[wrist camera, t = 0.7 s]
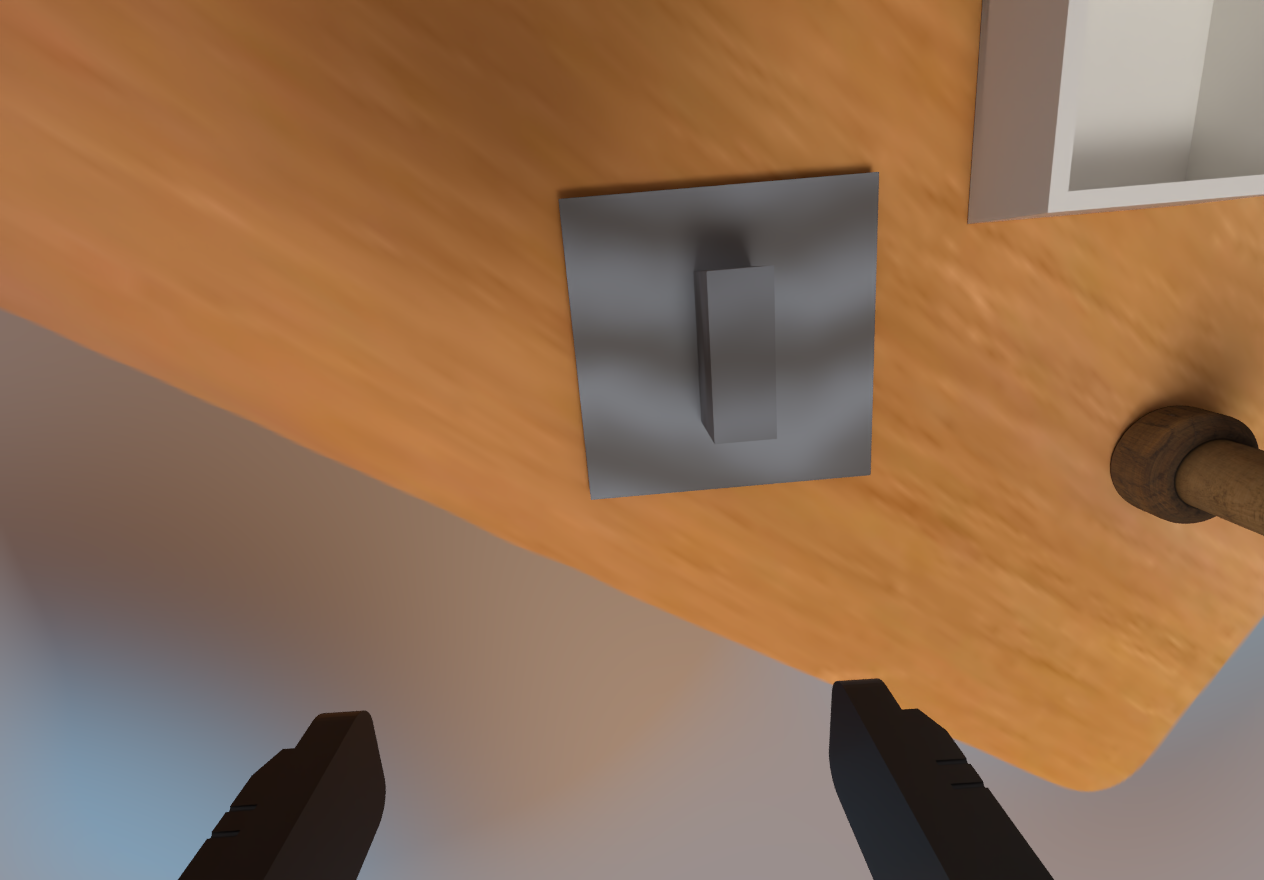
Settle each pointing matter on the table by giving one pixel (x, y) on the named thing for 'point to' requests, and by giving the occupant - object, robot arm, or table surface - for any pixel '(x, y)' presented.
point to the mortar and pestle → (1191, 468)
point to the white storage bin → (1116, 106)
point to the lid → (724, 332)
